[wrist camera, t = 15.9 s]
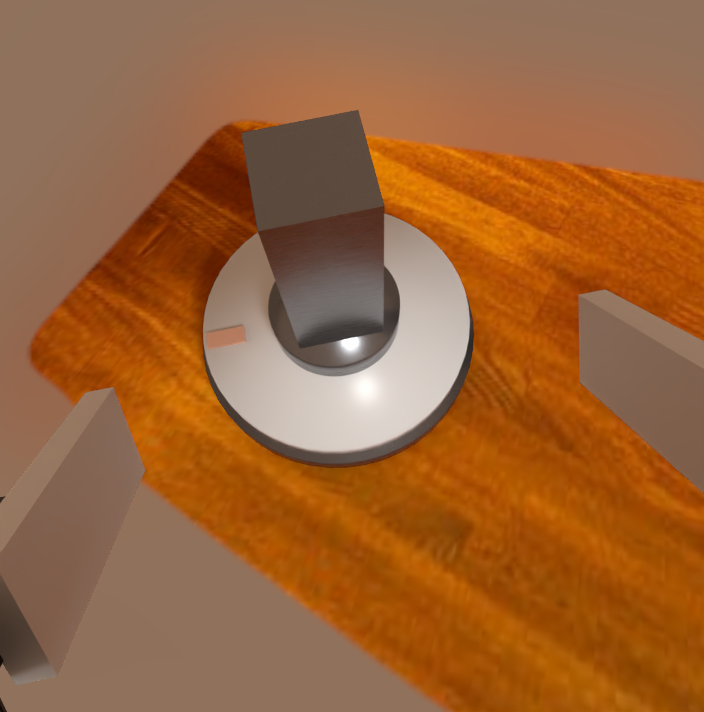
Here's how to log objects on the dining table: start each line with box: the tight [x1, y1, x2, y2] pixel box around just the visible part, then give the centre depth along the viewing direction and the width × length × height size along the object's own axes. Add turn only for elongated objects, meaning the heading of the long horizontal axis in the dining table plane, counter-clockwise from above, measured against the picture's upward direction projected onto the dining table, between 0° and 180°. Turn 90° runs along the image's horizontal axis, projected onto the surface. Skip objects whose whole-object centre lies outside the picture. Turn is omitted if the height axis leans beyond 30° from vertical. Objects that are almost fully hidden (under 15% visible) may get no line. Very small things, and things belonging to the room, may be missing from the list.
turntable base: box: [203, 296, 474, 468], centre depth 38 cm, size 18×18×2 cm
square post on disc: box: [241, 110, 400, 376], centre depth 29 cm, size 8×8×14 cm
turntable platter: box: [203, 213, 470, 454], centre depth 36 cm, size 17×17×2 cm
